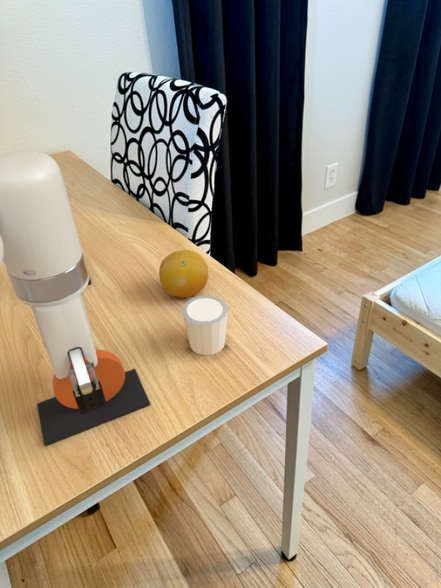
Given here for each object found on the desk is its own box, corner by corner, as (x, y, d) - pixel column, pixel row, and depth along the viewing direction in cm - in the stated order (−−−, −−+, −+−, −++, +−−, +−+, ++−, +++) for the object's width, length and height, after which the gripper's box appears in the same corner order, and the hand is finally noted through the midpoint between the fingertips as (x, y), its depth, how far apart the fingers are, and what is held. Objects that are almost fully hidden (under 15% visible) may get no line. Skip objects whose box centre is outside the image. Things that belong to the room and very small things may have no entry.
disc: (61, 417, 57) (47, 370, 51) (59, 408, 58) (45, 361, 52) (128, 396, 60) (121, 349, 55) (124, 388, 61) (118, 341, 56)
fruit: (167, 310, 75) (162, 272, 70) (157, 284, 81) (151, 248, 76) (215, 298, 77) (213, 261, 72) (201, 274, 83) (199, 238, 78)
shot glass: (177, 349, 67) (173, 315, 63) (199, 323, 72) (196, 290, 68) (216, 364, 65) (214, 329, 60) (236, 335, 69) (235, 302, 65)
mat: (45, 446, 54) (44, 443, 54) (37, 406, 59) (36, 403, 59) (150, 405, 59) (150, 402, 59) (135, 371, 64) (134, 368, 64)
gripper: (5, 244, 50) (45, 348, 61) (21, 335, 38) (68, 445, 48) (70, 229, 53) (98, 331, 63) (105, 310, 40) (132, 420, 51)
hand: (85, 381), depth 56 cm, fingers open, 9 cm apart
